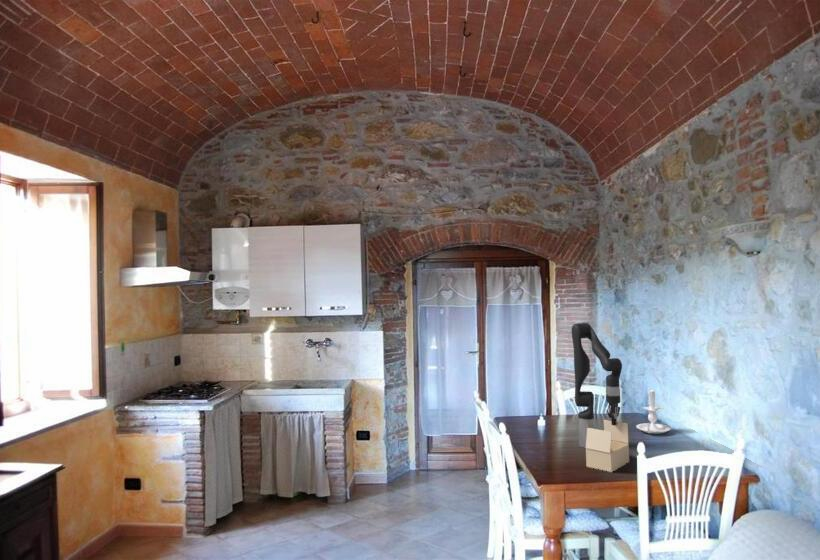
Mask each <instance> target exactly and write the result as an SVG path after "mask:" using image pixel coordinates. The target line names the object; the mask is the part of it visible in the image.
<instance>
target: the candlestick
mask: <svg viewBox="0 0 820 560" xmlns="http://www.w3.org/2000/svg"><path fill="white" fill-rule="evenodd" d="M655 394H656V392H655V390H654V389H650V390H648V403H649V406H643V407H642V409H643V410H647V411H649V413H648V415H647V419H648V421H650V422H646V423H639V424H636V425H635V427H636V428H637V430H638V429H639V431H642V432H643V433H648V434H651V435H653V434H654V435H658V434H660V435H661V434H664V433H667V432H668V431H671V427H670V426H668V425H665V424H660V423H656V422H657V420H658V415H657V413H656V412H658V411H662V409H663V408H662V407H659V406H655V405H656V395H655Z"/></svg>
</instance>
